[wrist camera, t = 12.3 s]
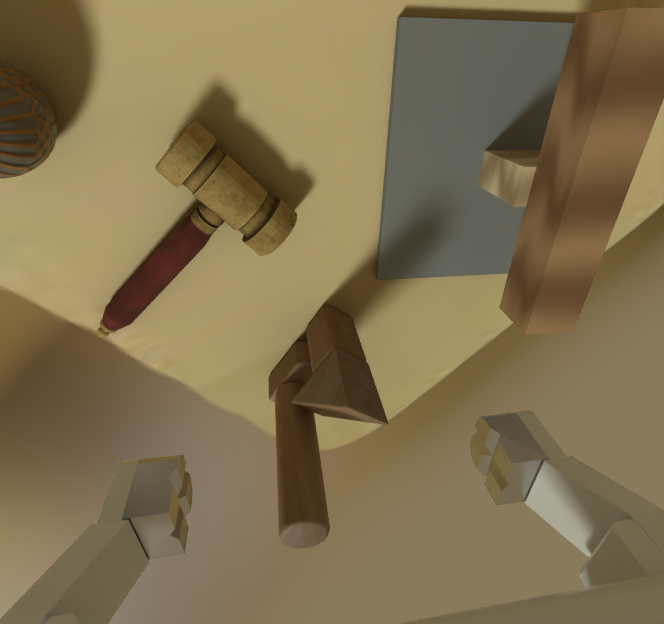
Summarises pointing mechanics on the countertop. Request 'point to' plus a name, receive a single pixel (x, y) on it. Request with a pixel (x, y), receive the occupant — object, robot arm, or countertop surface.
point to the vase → (23, 123)
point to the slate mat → (461, 139)
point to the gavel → (201, 220)
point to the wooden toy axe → (299, 422)
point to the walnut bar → (585, 164)
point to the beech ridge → (509, 174)
